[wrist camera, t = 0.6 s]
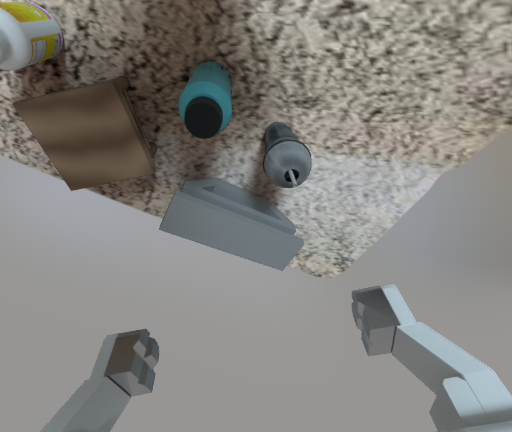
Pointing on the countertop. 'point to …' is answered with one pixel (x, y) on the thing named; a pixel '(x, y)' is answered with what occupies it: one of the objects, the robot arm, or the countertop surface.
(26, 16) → the supplement bottle
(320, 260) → the countertop surface
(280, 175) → the beverage cup
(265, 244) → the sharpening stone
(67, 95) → the walnut stool
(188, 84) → the beverage bottle
